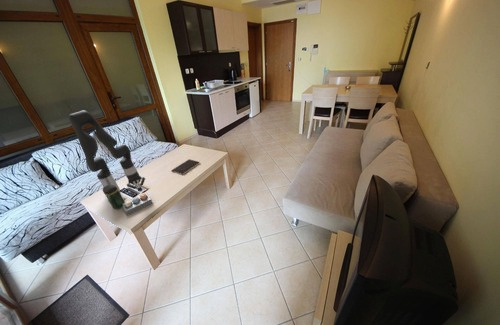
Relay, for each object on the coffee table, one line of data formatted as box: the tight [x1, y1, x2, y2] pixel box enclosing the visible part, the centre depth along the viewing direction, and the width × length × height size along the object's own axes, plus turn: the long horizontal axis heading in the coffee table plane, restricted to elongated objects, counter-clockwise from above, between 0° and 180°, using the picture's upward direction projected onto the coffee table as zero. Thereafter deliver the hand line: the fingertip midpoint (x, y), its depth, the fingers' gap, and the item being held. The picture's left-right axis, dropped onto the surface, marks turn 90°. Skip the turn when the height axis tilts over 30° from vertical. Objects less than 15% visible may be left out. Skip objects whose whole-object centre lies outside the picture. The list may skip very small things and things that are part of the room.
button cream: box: [124, 200, 132, 208], centre depth 143 cm, size 4×4×4 cm
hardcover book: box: [171, 159, 200, 176], centre depth 191 cm, size 16×23×2 cm
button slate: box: [132, 196, 140, 204], centre depth 146 cm, size 4×4×4 cm
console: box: [122, 192, 153, 217], centre depth 147 cm, size 12×18×4 cm, turn 131°
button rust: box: [139, 193, 147, 201], centre depth 148 cm, size 4×4×4 cm
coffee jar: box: [102, 185, 126, 210], centre depth 145 cm, size 10×8×19 cm
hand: (140, 191), depth 145 cm, fingers closed
